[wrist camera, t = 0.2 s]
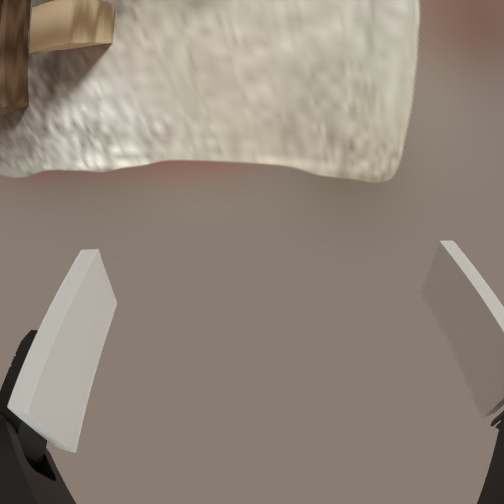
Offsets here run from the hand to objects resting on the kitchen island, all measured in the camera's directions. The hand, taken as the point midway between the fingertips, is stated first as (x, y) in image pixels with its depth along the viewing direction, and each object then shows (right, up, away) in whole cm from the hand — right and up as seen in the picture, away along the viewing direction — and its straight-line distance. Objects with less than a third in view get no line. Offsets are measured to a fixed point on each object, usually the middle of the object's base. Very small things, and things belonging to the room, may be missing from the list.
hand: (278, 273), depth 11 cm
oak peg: (-19, +27, +15) cm, 36 cm away
